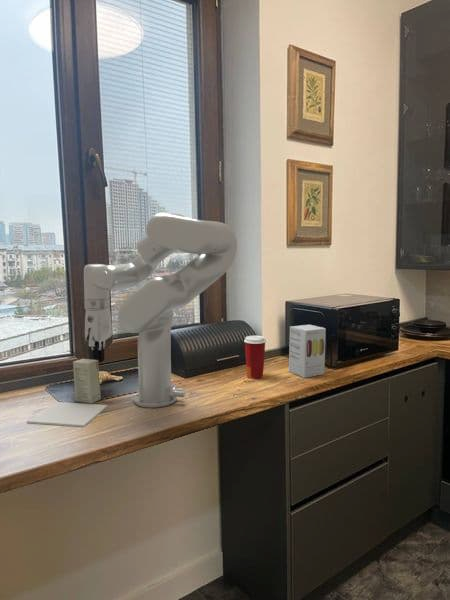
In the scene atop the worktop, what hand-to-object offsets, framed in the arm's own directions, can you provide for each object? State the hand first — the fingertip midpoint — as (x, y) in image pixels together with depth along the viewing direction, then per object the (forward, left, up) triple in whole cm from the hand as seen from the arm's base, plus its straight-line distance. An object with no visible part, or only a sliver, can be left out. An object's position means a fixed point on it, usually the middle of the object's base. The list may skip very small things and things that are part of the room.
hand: (98, 361), depth 138 cm
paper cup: (-48, -22, -10) cm, 53 cm away
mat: (-1, +20, -10) cm, 22 cm away
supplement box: (-66, -29, -10) cm, 72 cm away
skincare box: (-1, +9, -10) cm, 13 cm away
